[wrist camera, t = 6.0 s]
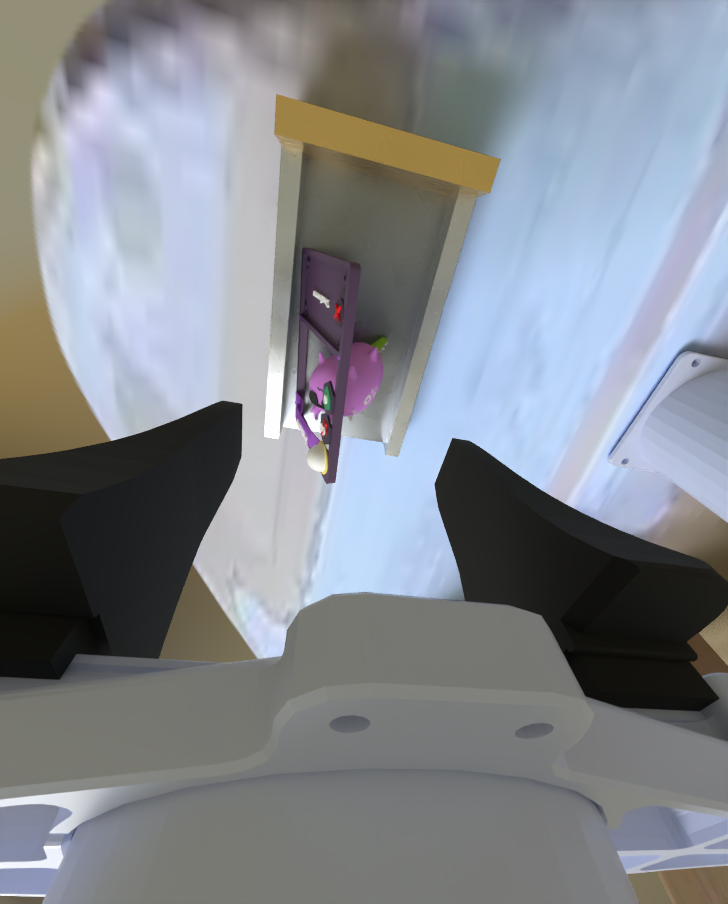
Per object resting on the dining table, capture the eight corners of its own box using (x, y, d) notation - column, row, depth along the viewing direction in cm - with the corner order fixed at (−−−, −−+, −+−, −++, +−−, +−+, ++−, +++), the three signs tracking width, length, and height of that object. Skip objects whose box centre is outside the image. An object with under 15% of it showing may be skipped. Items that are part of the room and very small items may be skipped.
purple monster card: (328, 259, 11) (311, 487, 15) (463, 278, 13) (412, 475, 17) (286, 244, 16) (282, 419, 20) (387, 259, 18) (363, 415, 22)
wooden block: (682, 613, 35) (999, 966, 18) (605, 660, 39) (799, 978, 22) (617, 586, 32) (919, 976, 15) (541, 640, 37) (709, 987, 20)
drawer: (470, 174, 15) (500, 159, 12) (394, 440, 23) (401, 471, 20) (291, 124, 14) (276, 94, 11) (271, 420, 21) (258, 450, 18)
